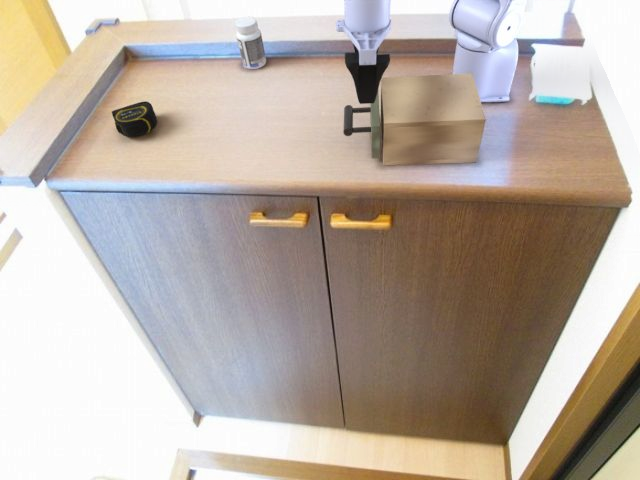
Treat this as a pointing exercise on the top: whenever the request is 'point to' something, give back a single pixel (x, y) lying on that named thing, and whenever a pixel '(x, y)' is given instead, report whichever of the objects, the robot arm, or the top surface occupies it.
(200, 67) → the top surface
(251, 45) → the pill bottle
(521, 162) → the top surface
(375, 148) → the drawer
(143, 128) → the tape measure
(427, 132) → the cabinet
